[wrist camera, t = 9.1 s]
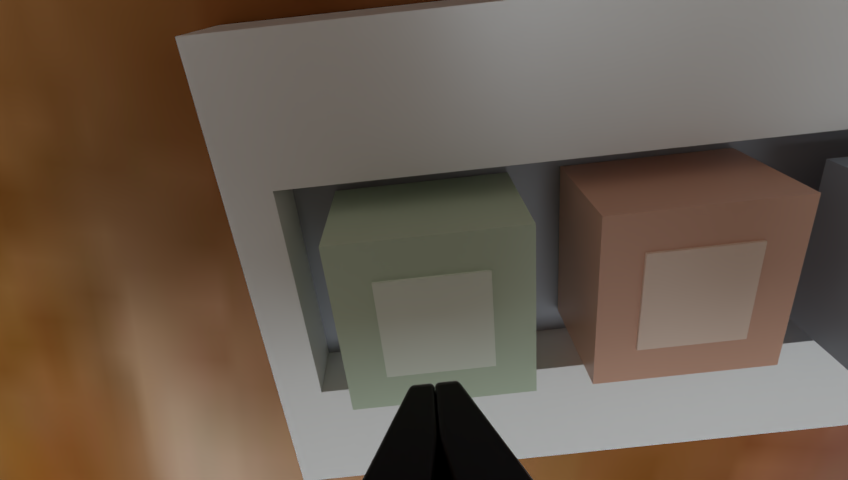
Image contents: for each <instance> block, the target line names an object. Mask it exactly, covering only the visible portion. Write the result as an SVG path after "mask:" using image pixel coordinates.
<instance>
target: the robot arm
mask: <svg viewBox="0 0 848 480" xmlns="http://www.w3.org/2000/svg"><path fill="white" fill-rule="evenodd" d="M362 480H533V479H532V478H531V476H530V475H529V474H528V472H527V471H526V470H525V468H524V467H523V466H522V464H521V463H520V462H519V460H518V459H517V458H516V456H515V455H514V454H513V452H512V451H511V450H510V448H509V447H508V446H507V444H506V443H505V442H504V440H503V439H502V438H501V436H500V435H499V434H498V432H497V431H496V430H495V428H494V427H493V426H492V425H491V423H490V422H489V421H488V419H487V418H486V417H485V415H484V414H483V413H482V411H481V410H480V409H479V407H478V406H477V405H476V403H475V402H474V401H473V399H472V398H471V397H470V395H469V394H468V393H467V391H466V390H465V389H464V387H463V386H462V385H461V383H460V382H458V381H447V382H439V383H437V384H436V385H435V387H434V385H433V384H431V383H428V384H419V385H412V386H411V387H410V388H409V389H408V391H407V393H406V395H405V397H404V399H403V401H402V403H401V405H400V407H399V409H398V411H397V413H396V415H395V417H394V419H393V421H392V423H391V425H390V426H389V428H388V430H387V432H386V434H385V436H384V438H383V440H382V442H381V444H380V446H379V448H378V450H377V452H376V454H375V456H374V458H373V460H372V462H371V464H370V466H369V468H368V470H367V472H366V474H365V476H364V478H363V479H362Z"/></svg>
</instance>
